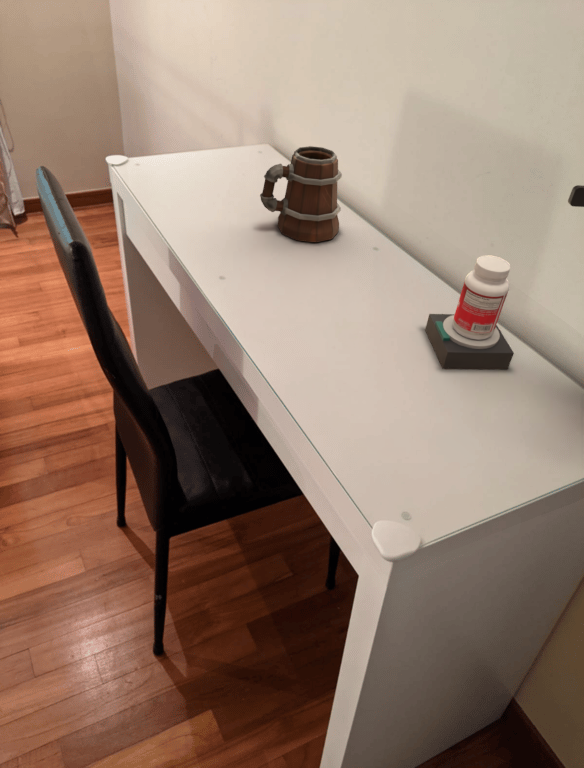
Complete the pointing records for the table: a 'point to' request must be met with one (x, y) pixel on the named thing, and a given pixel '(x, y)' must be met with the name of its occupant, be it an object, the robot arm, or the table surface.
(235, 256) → the table surface
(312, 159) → the mug
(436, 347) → the scale
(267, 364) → the table surface
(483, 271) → the pill bottle
